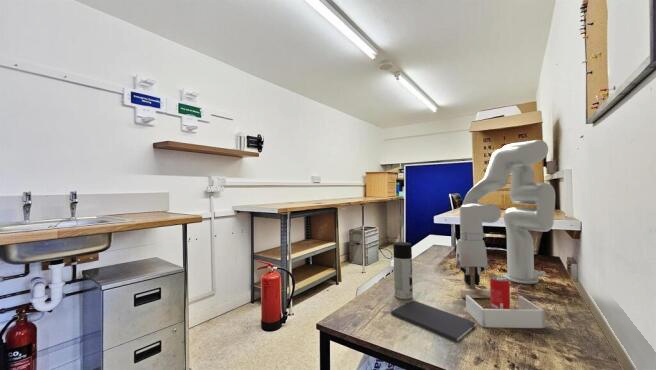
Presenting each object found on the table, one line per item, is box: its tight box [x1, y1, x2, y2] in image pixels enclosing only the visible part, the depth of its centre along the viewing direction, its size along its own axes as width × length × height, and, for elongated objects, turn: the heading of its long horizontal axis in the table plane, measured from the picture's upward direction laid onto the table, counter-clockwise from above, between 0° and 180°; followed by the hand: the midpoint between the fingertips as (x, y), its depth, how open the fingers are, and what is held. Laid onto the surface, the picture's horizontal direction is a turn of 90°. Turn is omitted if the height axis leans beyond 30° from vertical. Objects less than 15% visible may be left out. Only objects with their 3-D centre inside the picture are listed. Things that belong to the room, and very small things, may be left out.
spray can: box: [393, 241, 414, 301], centre depth 102 cm, size 7×7×20 cm
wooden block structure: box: [460, 267, 490, 299], centre depth 103 cm, size 12×9×11 cm
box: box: [465, 295, 546, 329], centre depth 84 cm, size 18×11×5 cm, turn 87°
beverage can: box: [489, 275, 511, 309], centre depth 86 cm, size 5×5×12 cm
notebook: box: [390, 300, 476, 343], centre depth 84 cm, size 13×2×21 cm
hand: (471, 283), depth 104 cm, fingers closed on wooden block structure, 2 cm apart
